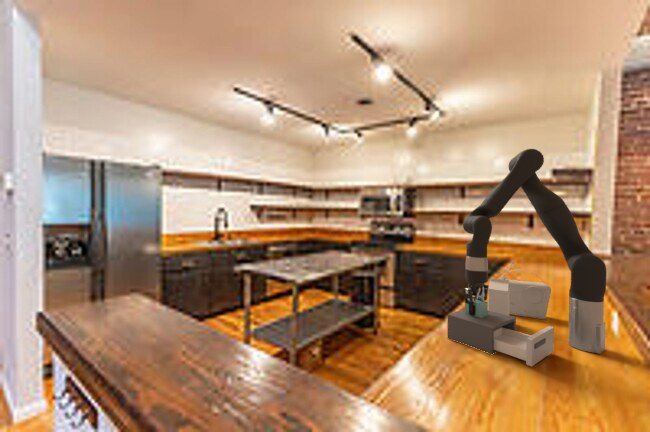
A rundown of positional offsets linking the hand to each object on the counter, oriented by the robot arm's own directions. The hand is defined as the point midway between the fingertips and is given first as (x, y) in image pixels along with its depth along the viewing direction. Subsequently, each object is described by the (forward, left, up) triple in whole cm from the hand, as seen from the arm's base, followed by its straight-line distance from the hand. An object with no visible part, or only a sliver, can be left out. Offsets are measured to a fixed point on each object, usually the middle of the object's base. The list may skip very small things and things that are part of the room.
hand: (476, 313), depth 111 cm
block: (0, 0, 0) cm, 0 cm away
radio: (+2, -45, -10) cm, 46 cm away
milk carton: (+3, -25, -10) cm, 27 cm away
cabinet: (-2, 0, -9) cm, 10 cm away
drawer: (-14, 0, -8) cm, 16 cm away
